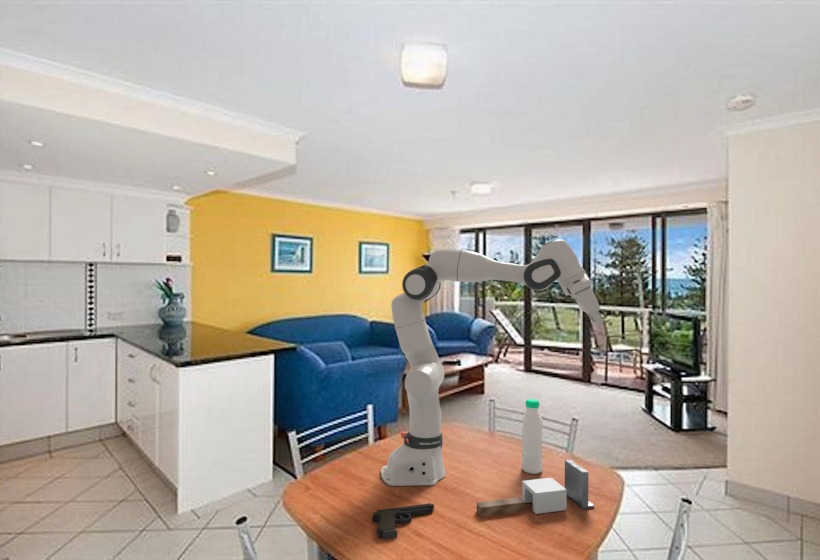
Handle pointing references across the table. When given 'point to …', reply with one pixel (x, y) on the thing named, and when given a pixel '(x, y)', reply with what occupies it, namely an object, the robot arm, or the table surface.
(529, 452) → the water bottle
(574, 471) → the wall
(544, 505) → the tunnel block
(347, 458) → the table surface
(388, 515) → the handgun
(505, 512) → the walnut bar
